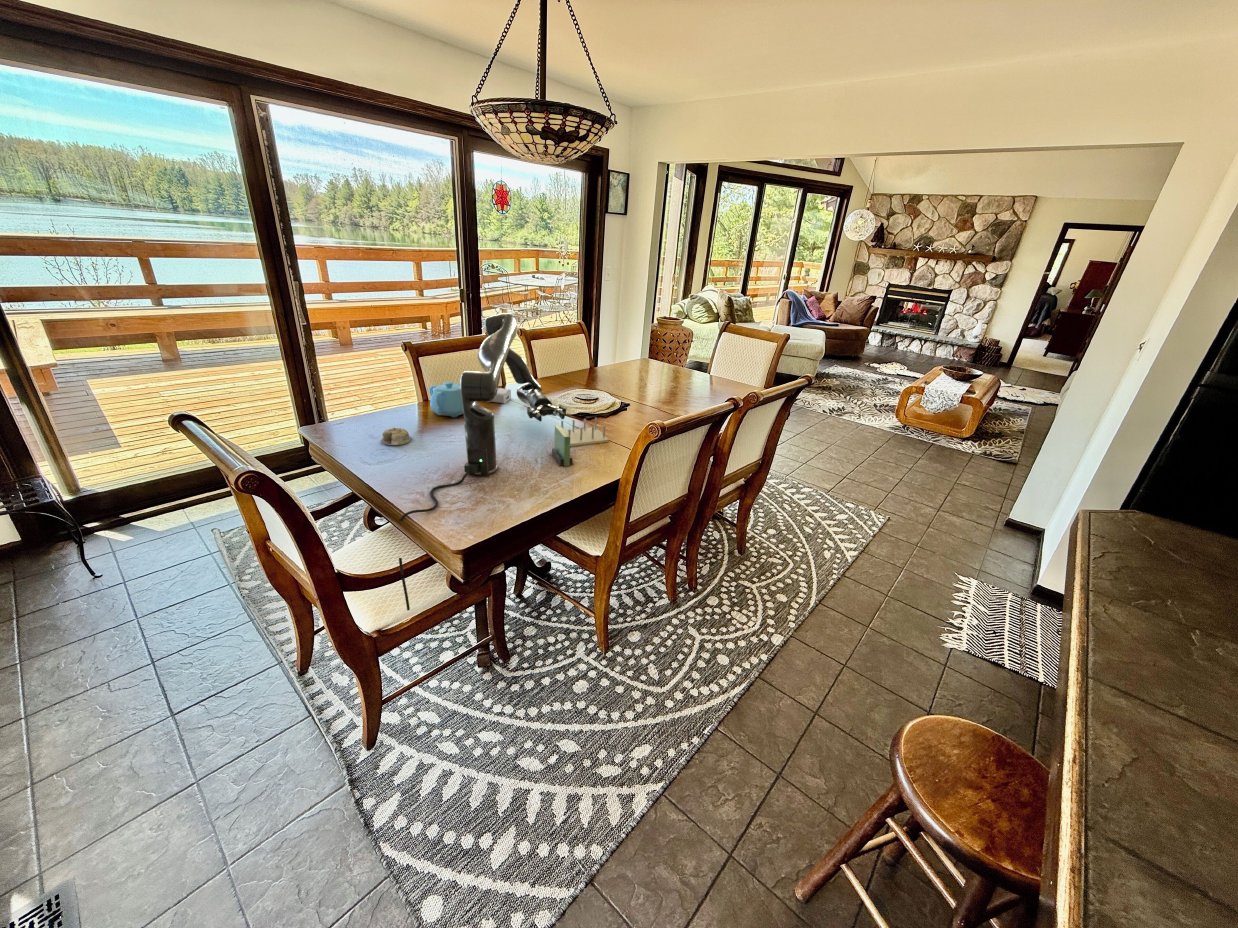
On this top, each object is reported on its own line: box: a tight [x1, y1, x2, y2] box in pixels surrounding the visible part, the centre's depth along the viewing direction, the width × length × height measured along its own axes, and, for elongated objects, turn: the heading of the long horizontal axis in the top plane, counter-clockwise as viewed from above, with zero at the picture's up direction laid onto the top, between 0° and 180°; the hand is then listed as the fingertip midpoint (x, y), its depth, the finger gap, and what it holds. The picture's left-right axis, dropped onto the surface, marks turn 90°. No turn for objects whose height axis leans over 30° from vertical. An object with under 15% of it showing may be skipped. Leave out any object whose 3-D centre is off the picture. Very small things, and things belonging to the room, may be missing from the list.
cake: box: [381, 427, 412, 446], centre depth 176 cm, size 10×10×5 cm
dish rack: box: [560, 417, 610, 447], centre depth 190 cm, size 14×16×6 cm
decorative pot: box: [428, 381, 463, 418], centre depth 204 cm, size 16×16×14 cm
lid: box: [554, 424, 571, 467], centre depth 169 cm, size 11×2×11 cm, turn 24°
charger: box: [490, 387, 512, 404], centre depth 225 cm, size 5×9×15 cm
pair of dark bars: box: [551, 447, 573, 467], centre depth 171 cm, size 10×4×2 cm, turn 24°
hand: (552, 417), depth 176 cm, fingers open, 8 cm apart
